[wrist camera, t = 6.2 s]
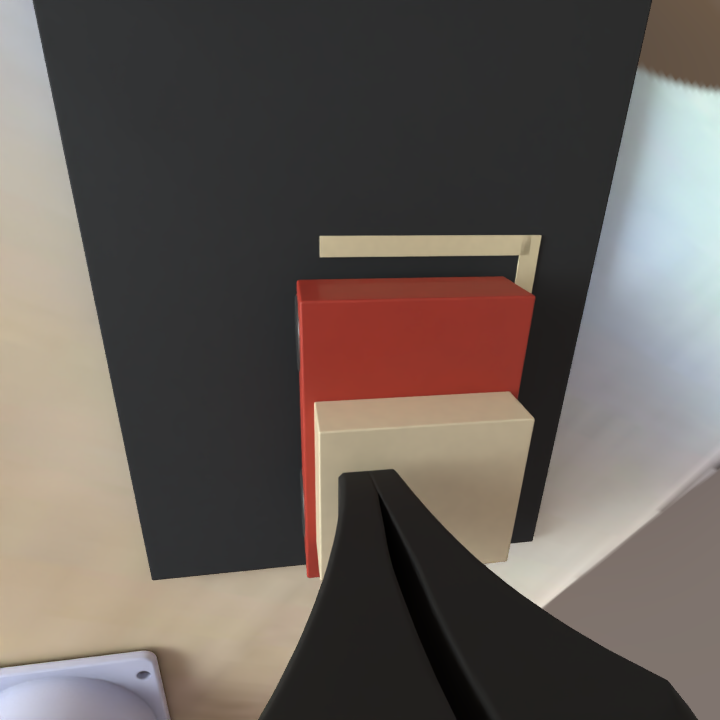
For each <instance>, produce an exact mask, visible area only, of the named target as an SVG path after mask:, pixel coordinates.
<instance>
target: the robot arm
mask: <svg viewBox="0 0 720 720" xmlns="http://www.w3.org/2000/svg"><path fill="white" fill-rule="evenodd" d="M0 720H171V719H170V715H169V710H168V706H167V701H166V697H165V692H164V688H163V683H162V679H161V674H160V670H159V665H158V660H157V657H156V655H155V654H154V653H152V652H151V651H134V652H126V653H118V654H110V655H102V656H94V657H86V658H78V659H69V660H61V661H53V662H45V663H37V664H29V665H21V666H13V667H4V668H0ZM258 720H698V719H697V718H696V716H695V715H694V713H693V712H692V711H691V709H690V708H689V706H688V705H687V704H686V703H685V701H684V700H683V699H682V698H681V696H680V695H679V694H678V693H677V691H676V690H675V689H674V688H673V686H672V685H671V684H670V683H669V682H668V681H667V680H666V679H664V678H662V677H660V676H658V675H656V674H654V673H652V672H650V671H648V670H646V669H644V668H643V667H641V666H639V665H637V664H635V663H633V662H631V661H629V660H627V659H625V658H623V657H621V656H619V655H617V654H615V653H613V652H612V651H609V650H608V649H606V648H604V647H603V646H601V645H599V644H598V643H596V642H594V641H592V640H591V639H589V638H587V637H586V636H584V635H582V634H581V633H579V632H577V631H575V630H574V629H572V628H570V627H569V626H567V625H566V624H564V623H563V622H561V621H559V620H558V619H556V618H555V617H553V616H552V615H550V614H549V613H548V612H546V611H544V610H543V609H542V608H540V607H539V606H537V605H536V604H534V603H533V602H532V601H530V600H529V599H527V598H526V597H524V596H523V595H522V594H520V593H519V592H517V591H516V590H515V589H513V588H512V587H511V586H509V585H508V584H507V583H506V582H504V581H503V580H502V579H501V578H499V577H498V576H497V575H496V574H495V573H493V572H492V571H491V570H490V569H488V568H487V567H486V566H485V565H484V564H483V563H482V562H480V561H479V560H478V559H477V558H476V557H475V556H474V555H473V554H472V553H471V552H469V551H468V550H467V549H466V548H465V547H464V546H463V545H462V544H461V543H460V542H459V541H458V540H457V539H456V538H455V537H454V536H453V535H452V534H451V533H450V532H449V531H448V530H447V529H446V528H445V527H444V526H443V525H442V524H441V523H440V522H439V521H438V519H437V518H436V517H435V516H434V515H433V514H432V513H431V512H430V511H429V510H428V509H427V508H426V506H425V505H424V504H423V503H422V502H421V501H420V499H419V498H418V497H417V496H416V495H415V494H414V492H413V491H412V490H411V489H410V488H409V486H408V485H407V484H406V483H405V481H404V480H403V479H402V478H401V477H400V475H399V474H398V473H397V472H396V471H395V470H394V469H385V470H372V471H359V472H346V473H342V474H341V475H340V476H339V477H338V521H337V527H336V532H335V537H334V542H333V545H332V549H331V553H330V557H329V561H328V564H327V568H326V571H325V575H324V578H323V581H322V584H321V587H320V590H319V593H318V595H317V598H316V601H315V604H314V606H313V609H312V611H311V614H310V616H309V619H308V621H307V624H306V626H305V628H304V631H303V633H302V635H301V638H300V640H299V642H298V644H297V647H296V649H295V651H294V653H293V655H292V657H291V659H290V661H289V663H288V665H287V667H286V669H285V671H284V673H283V675H282V677H281V679H280V681H279V683H278V685H277V687H276V689H275V691H274V693H273V695H272V696H271V698H270V700H269V702H268V703H267V705H266V707H265V709H264V710H263V712H262V714H261V716H260V717H259V719H258Z"/></svg>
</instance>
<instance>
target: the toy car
mask: <svg viewBox="0 0 720 720" xmlns="http://www.w3.org/2000/svg"><path fill="white" fill-rule="evenodd" d="M534 304H535V296H534V295H533V294H531V293H530V292H528V291H526V290H525V289H523V288H521V287H520V286H518V285H517V284H515V283H513V282H512V281H510V280H508V279H507V278H505V277H503V276H494V277H435V278H376V279H318V280H298V281H297V294H296V295H295V331H296V352H297V367H298V371H299V382H300V415H301V448H302V469H301V470H300V487H301V509H302V527H303V536H304V539H305V554H306V568H307V576H308V578H313V577H320V580H321V581H323V578H324V575H325V571H326V568H327V564H328V561H329V557H330V553H331V549H332V545H333V542H334V537H335V532H336V527H337V521H338V477H339V476H340V475H341V474H342V473H346V472H359V471H372V470H385V469H394V470H395V471H396V472H397V473H398V474H399V475H400V477H401V478H402V479H403V480H404V481H405V483H406V484H407V485H408V486H409V488H410V489H411V490H412V491H413V492H414V494H415V495H416V496H417V497H418V498H419V499H420V501H421V502H422V503H423V504H424V505H425V506H426V508H427V509H428V510H429V511H430V512H431V513H432V514H433V515H434V516H435V517H436V518H437V519H438V521H439V522H440V523H441V524H442V525H443V526H444V527H445V528H446V529H447V530H448V531H449V532H450V533H451V534H452V535H453V536H454V537H455V538H456V539H457V540H458V541H459V542H460V543H461V544H462V545H463V546H464V547H465V548H466V549H467V550H468V551H469V552H471V553H472V554H473V555H474V556H475V557H476V558H477V559H478V560H479V561H480V562H482V563H483V564H487V563H496V562H505V561H507V558H508V553H509V548H510V543H511V538H512V533H513V528H514V522H515V517H516V512H517V507H518V502H519V497H520V492H521V487H522V482H523V477H524V472H525V467H526V462H527V457H528V451H529V446H530V441H531V436H532V431H533V426H534V421H535V419H534V417H533V416H532V415H531V414H530V413H529V412H528V411H527V410H526V409H525V407H524V406H523V405H522V404H521V403H520V402H519V401H518V394H519V388H520V383H521V377H522V371H523V366H524V360H525V354H526V349H527V343H528V337H529V332H530V326H531V320H532V315H533V309H534Z"/></svg>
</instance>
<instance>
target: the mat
mask: <svg viewBox="0 0 720 720" xmlns="http://www.w3.org/2000/svg"><path fill="white" fill-rule="evenodd" d="M651 3H652V0H33V4H34V9H35V14H36V18H37V23H38V28H39V33H40V38H41V43H42V48H43V52H44V57H45V62H46V67H47V72H48V77H49V82H50V86H51V91H52V96H53V101H54V106H55V111H56V116H57V120H58V125H59V130H60V135H61V140H62V145H63V150H64V154H65V159H66V164H67V169H68V174H69V179H70V184H71V188H72V193H73V198H74V203H75V208H76V213H77V218H78V222H79V227H80V232H81V237H82V242H83V247H84V251H85V256H86V261H87V266H88V271H89V276H90V281H91V285H92V290H93V295H94V300H95V305H96V310H97V315H98V319H99V324H100V329H101V334H102V339H103V344H104V349H105V353H106V358H107V363H108V368H109V373H110V378H111V383H112V387H113V392H114V397H115V402H116V407H117V412H118V417H119V421H120V426H121V431H122V436H123V441H124V446H125V451H126V455H127V460H128V465H129V470H130V475H131V480H132V484H133V489H134V494H135V499H136V504H137V509H138V514H139V518H140V523H141V528H142V533H143V538H144V543H145V548H146V552H147V557H148V562H149V567H150V572H151V577H152V580H160V579H170V578H180V577H190V576H199V575H209V574H219V573H228V572H238V571H248V570H257V569H267V568H277V567H287V566H296V565H306V554H305V539H304V536H303V527H302V509H301V487H300V470H301V469H302V448H301V415H300V382H299V371H298V367H297V352H296V331H295V295H296V294H297V281H298V280H318V279H376V278H435V277H494V276H503V277H505V278H507V279H508V280H510V281H512V282H513V283H515V284H517V285H518V286H520V287H521V288H523V289H525V290H526V291H528V292H530V293H531V294H533V295H534V296H535V304H534V309H533V315H532V320H531V326H530V332H529V337H528V343H527V349H526V354H525V360H524V366H523V371H522V377H521V383H520V388H519V394H518V401H519V402H520V403H521V404H522V405H523V406H524V407H525V409H526V410H527V411H528V412H529V413H530V414H531V415H532V416H533V417H534V419H535V421H534V426H533V431H532V436H531V441H530V446H529V451H528V457H527V462H526V467H525V472H524V477H523V482H522V487H521V492H520V497H519V502H518V507H517V512H516V517H515V522H514V528H513V533H512V538H511V543H519V542H529V541H532V540H533V536H534V531H535V527H536V522H537V518H538V513H539V509H540V504H541V500H542V495H543V491H544V486H545V482H546V477H547V473H548V468H549V464H550V459H551V455H552V450H553V446H554V441H555V437H556V432H557V427H558V423H559V418H560V414H561V409H562V405H563V400H564V396H565V391H566V387H567V382H568V378H569V373H570V369H571V364H572V360H573V355H574V351H575V346H576V342H577V337H578V333H579V328H580V324H581V319H582V315H583V310H584V305H585V301H586V296H587V292H588V287H589V283H590V278H591V274H592V269H593V265H594V260H595V256H596V251H597V247H598V242H599V238H600V233H601V229H602V224H603V220H604V215H605V211H606V206H607V202H608V197H609V193H610V188H611V184H612V179H613V174H614V170H615V165H616V161H617V156H618V152H619V147H620V143H621V138H622V134H623V129H624V125H625V120H626V116H627V111H628V107H629V102H630V98H631V93H632V89H633V84H634V80H635V75H636V71H637V66H638V61H639V57H640V52H641V48H642V43H643V39H644V34H645V30H646V25H647V20H648V16H649V11H650V7H651Z"/></svg>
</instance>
